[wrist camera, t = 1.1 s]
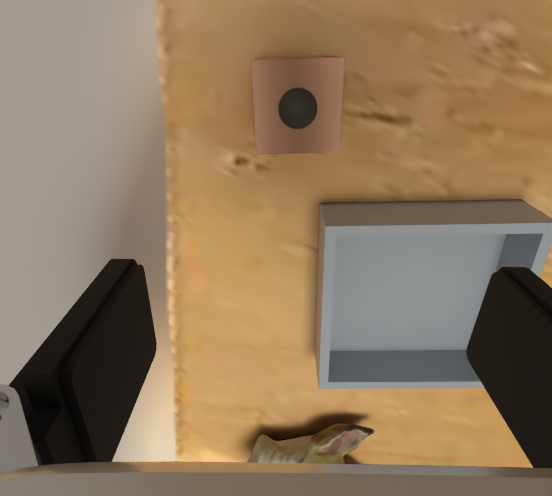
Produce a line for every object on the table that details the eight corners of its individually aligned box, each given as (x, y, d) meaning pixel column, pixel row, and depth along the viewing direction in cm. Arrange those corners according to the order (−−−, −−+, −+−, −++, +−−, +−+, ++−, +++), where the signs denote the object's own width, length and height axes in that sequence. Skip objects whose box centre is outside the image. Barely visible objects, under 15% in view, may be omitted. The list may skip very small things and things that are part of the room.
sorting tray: (521, 199, 30) (559, 222, 26) (476, 351, 37) (499, 387, 33) (319, 203, 30) (325, 226, 26) (314, 352, 37) (318, 388, 34)
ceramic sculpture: (230, 496, 34) (392, 482, 34) (234, 414, 42) (367, 403, 42) (242, 553, 39) (383, 541, 39) (244, 471, 47) (362, 461, 47)
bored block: (331, 56, 25) (345, 58, 20) (328, 132, 28) (339, 152, 22) (257, 58, 25) (251, 60, 20) (260, 134, 28) (255, 154, 22)
